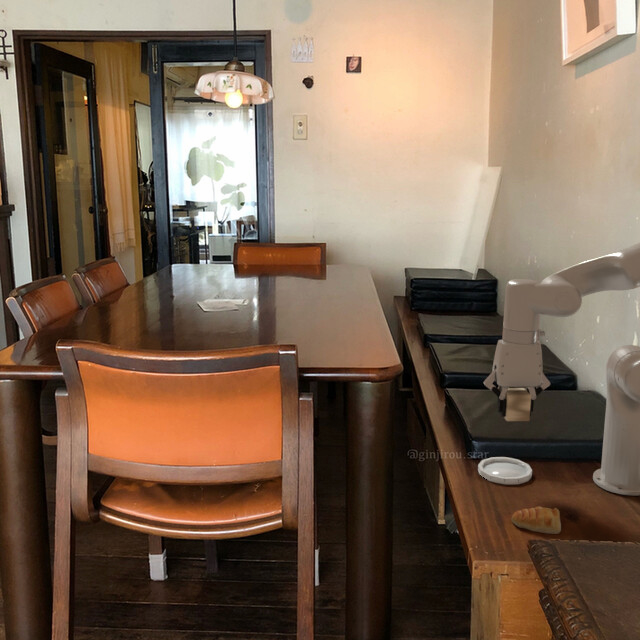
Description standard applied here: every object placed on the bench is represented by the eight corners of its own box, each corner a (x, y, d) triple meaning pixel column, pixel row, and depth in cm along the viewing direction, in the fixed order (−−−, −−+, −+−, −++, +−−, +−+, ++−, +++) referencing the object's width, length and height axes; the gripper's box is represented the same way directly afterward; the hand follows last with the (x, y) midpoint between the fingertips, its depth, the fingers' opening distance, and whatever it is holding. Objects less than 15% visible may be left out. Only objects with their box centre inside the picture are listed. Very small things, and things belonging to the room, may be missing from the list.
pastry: (512, 532, 136) (513, 514, 135) (510, 515, 142) (511, 498, 142) (562, 536, 134) (563, 518, 133) (558, 519, 141) (559, 502, 140)
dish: (523, 462, 167) (523, 456, 167) (538, 484, 155) (538, 478, 155) (473, 462, 167) (473, 457, 167) (484, 484, 156) (484, 479, 155)
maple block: (522, 413, 157) (523, 387, 156) (529, 421, 153) (531, 395, 151) (500, 413, 157) (502, 388, 156) (506, 421, 152) (508, 395, 151)
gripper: (552, 331, 155) (546, 408, 159) (477, 332, 154) (472, 409, 158) (565, 340, 148) (558, 420, 152) (486, 340, 147) (481, 421, 151)
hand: (514, 413), depth 155 cm, fingers closed on maple block, 5 cm apart
